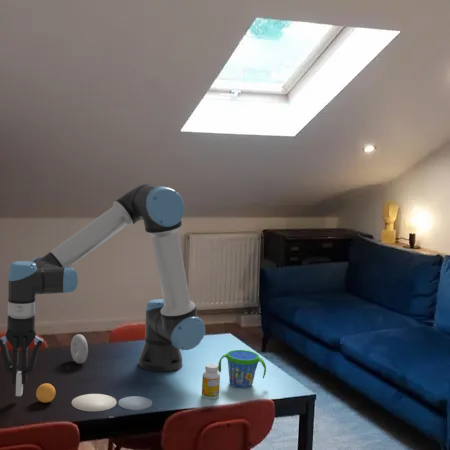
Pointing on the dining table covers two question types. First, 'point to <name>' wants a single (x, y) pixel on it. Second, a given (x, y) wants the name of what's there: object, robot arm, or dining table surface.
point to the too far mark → (135, 403)
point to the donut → (79, 348)
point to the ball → (45, 393)
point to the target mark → (94, 402)
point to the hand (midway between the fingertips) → (19, 394)
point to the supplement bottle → (211, 382)
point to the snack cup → (242, 367)
